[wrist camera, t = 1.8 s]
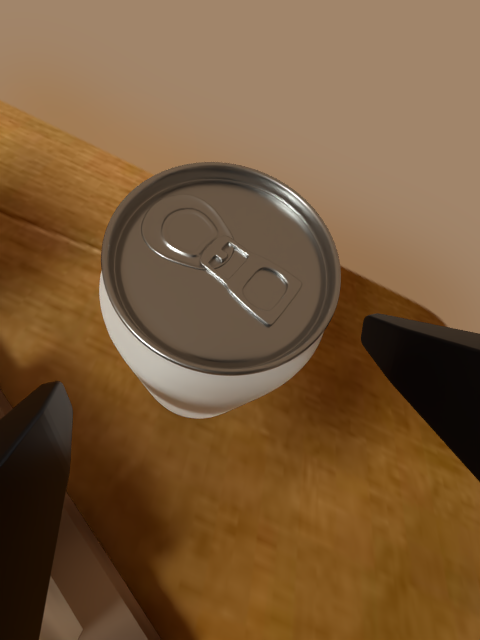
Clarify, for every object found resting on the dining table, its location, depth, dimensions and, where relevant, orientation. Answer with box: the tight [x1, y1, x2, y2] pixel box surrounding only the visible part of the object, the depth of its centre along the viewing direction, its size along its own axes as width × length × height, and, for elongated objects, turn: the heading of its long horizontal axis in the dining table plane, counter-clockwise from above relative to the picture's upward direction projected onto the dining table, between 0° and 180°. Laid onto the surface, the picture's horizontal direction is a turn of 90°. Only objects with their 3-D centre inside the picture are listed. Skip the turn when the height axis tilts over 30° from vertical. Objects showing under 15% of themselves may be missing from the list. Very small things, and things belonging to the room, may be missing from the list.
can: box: [99, 162, 341, 418], centre depth 13 cm, size 6×6×12 cm
